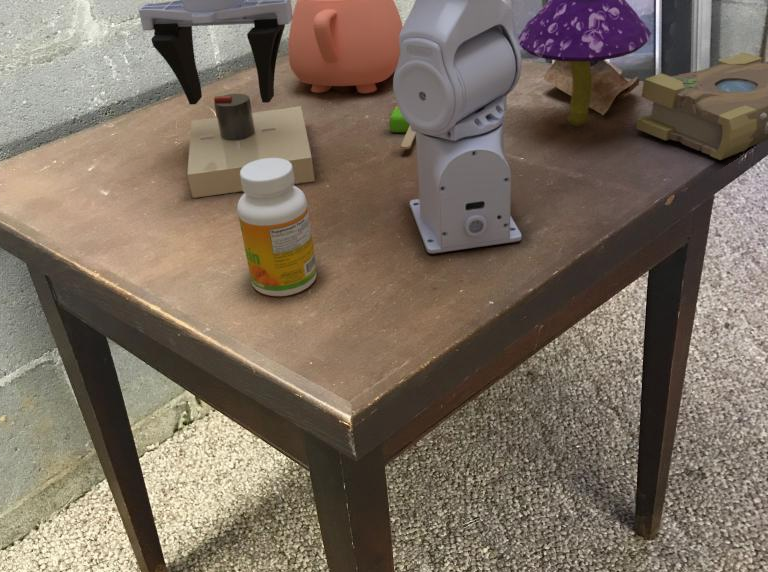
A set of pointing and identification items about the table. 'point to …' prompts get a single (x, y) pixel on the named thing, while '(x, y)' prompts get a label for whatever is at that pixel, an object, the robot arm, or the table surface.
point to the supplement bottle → (275, 228)
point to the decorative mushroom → (583, 40)
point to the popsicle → (402, 128)
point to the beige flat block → (246, 151)
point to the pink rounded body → (344, 43)
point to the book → (711, 106)
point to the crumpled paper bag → (593, 82)
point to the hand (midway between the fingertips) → (231, 100)
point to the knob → (234, 116)
